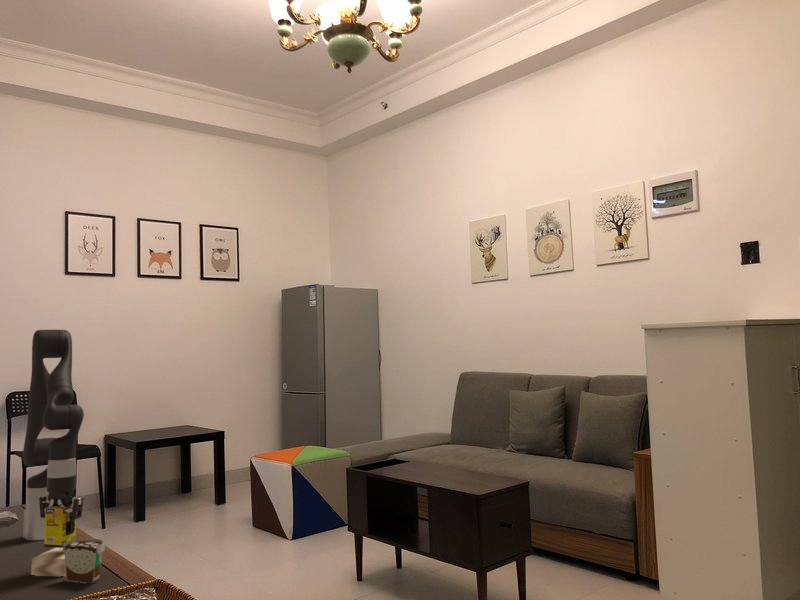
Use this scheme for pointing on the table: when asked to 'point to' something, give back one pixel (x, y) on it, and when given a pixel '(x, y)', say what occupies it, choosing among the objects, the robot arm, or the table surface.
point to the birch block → (49, 563)
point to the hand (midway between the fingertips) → (60, 533)
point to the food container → (83, 560)
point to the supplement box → (57, 527)
